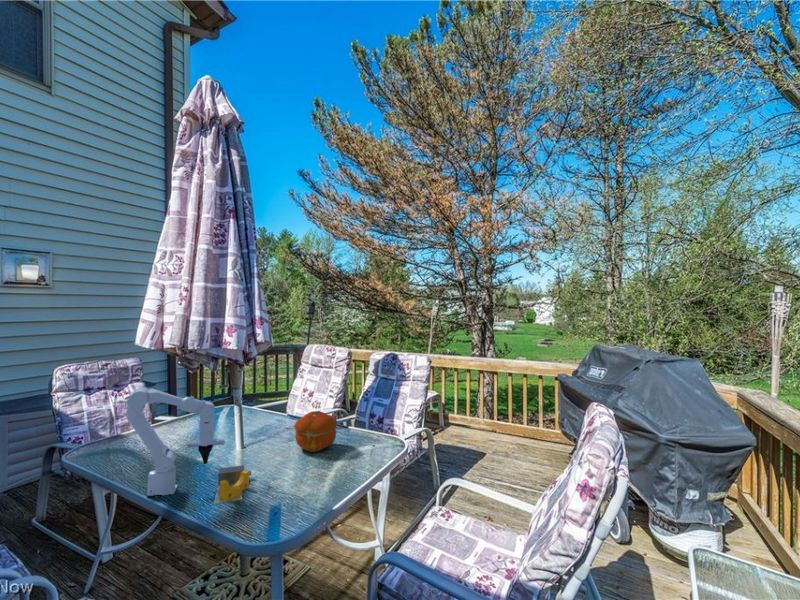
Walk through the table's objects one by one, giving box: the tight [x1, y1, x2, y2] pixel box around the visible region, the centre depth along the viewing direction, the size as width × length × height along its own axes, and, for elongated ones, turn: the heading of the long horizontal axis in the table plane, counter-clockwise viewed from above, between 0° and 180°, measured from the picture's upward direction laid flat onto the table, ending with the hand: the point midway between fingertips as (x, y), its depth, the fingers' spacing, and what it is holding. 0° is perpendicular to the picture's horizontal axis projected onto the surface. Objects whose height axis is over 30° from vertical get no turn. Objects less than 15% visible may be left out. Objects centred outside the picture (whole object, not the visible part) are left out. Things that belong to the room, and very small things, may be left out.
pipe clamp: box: [220, 470, 250, 500], centre depth 156 cm, size 12×4×6 cm, turn 152°
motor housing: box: [213, 465, 252, 505], centre depth 160 cm, size 13×22×5 cm, turn 20°
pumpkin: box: [294, 410, 338, 453], centre depth 207 cm, size 23×23×20 cm
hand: (205, 462), depth 163 cm, fingers closed
